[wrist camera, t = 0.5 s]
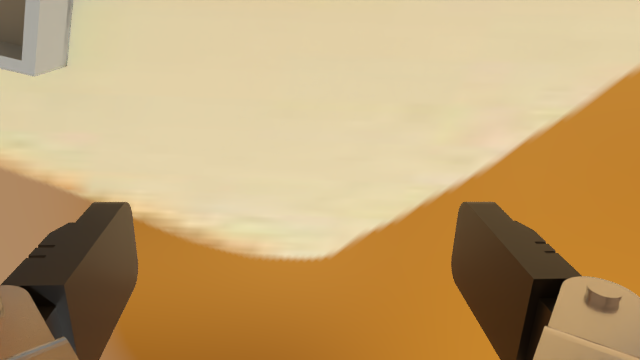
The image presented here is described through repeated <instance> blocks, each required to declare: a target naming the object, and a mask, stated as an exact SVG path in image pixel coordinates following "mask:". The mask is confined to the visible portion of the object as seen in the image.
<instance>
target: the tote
mask: <svg viewBox="0 0 640 360" xmlns="http://www.w3.org/2000/svg"><path fill="white" fill-rule="evenodd" d="M72 6H73V0H0V68H1V69H5V70H9V71H13V72H17V73H22V74H26V75H30V76H38V75H41V74H44V73H47V72H50V71H53V70H56V69H59V68H62V67H65V66H67V58H68V48H69V37H70V27H71V16H72Z"/></svg>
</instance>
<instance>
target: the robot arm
mask: <svg viewBox="0 0 640 360" xmlns="http://www.w3.org/2000/svg"><path fill="white" fill-rule="evenodd" d="M451 263H452V264H451V265H452V274H453V279H454V281H455V284H456V285H457V287H458V289H459V290H460V292H461V294H462V295H463V297H464V299H465V300H466V302H467V304H468V306H469V307H470V309H471V311H472V312H473V314H474V316H475V317H476V319H477V321H478V322H479V324H480V326H481V327H482V329H483V331H484V332H485V334H486V336H487V337H488V339H489V341H490V342H491V344H492V346H493V348H494V349H495V351H496V353H497V354H498V356H499V358H500V359H501V360H640V298H639V297H638V296H637V295H636V294H634V293H633V292H632V291H630V290H628V289H627V288H625V287H622V286H621V285H618V284H616V283H613V282H610V281H607V280H604V279H600V278H594V277H585V276H581V275H580V274H579V273H578V272H577V271H576V270H575V269H574V268H573V267H572V266H571V265H569V263H568V262H567V261H565V260H564V259H563V258H562V257H561V256H560V255H559V254H558V253H555V250H554V249H553V248H552V247H551V246H550V245H549V244H546V242H545V240H543V239H542V238H541V237H540V236H539V235H538V234H537V233H536V232H535V231H534V230H532V229H530V228H528V227H526V226H525V225H523V224H521V223H519V222H517V221H513V220H512V219H511V218H510V217H509V216H508V215H507V214H506V213H505V212H504V211H503V210H502V209H501V208H500V207H499V206H498V205H497V204H496V203H495V202H463V203H462V204H461V206H460V208H459V212H458V218H457V225H456V232H455V239H454V246H453V254H452V262H451ZM137 274H138V259H137V251H136V242H135V234H134V226H133V217H132V211H131V207H130V205H129V203H127V202H94V203H92V204H91V206H90V207H89V208H88V209H87V210H86V211H85V212H84V214H83V215H82V216H81V217H80V218H79V219H78V220H77V221H76V223H68V224H66V225H64V226H62V227H60V228H58V229H57V230H55V231H53V232H51V233H50V234H49V235H48V236H47V237H46V238H45V239H44V240H43V241H42V242H41V243H40V244H39V245H38V248H35V249H34V250H33V252H32V253H31V254H30V255H29V258H26V259H25V260H24V261H23V262H22V263H21V264H20V265H19V266H18V267H17V268H16V269H15V270H14V271H13V273H12V274H11V275H10V276H9V277H8V278H7V279H6V280H5V281H4V282H3V283H2V284H1V285H0V360H99V359H100V357H101V355H102V352H103V351H104V348H105V347H106V344H107V342H108V340H109V338H110V336H111V334H112V332H113V330H114V328H115V326H116V324H117V322H118V320H119V318H120V316H121V314H122V312H123V310H124V308H125V306H126V304H127V302H128V300H129V298H130V296H131V294H132V292H133V290H134V287H135V284H136V281H137Z"/></svg>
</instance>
